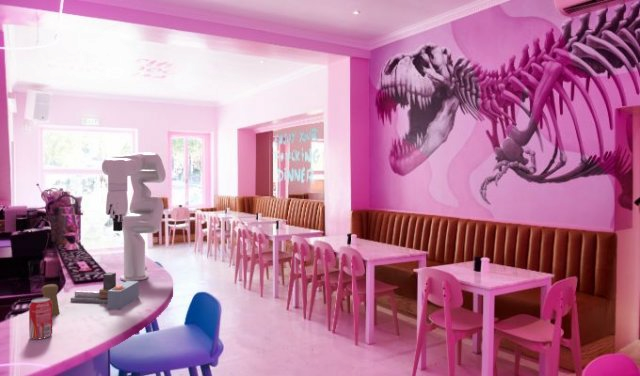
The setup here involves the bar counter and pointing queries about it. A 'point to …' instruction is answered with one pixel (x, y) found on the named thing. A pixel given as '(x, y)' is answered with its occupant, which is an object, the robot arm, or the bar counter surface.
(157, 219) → the robot arm
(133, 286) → the cabinet
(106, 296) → the carriage
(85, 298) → the rail
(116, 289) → the button
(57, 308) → the cork
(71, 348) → the bar counter surface
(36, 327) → the beverage can
